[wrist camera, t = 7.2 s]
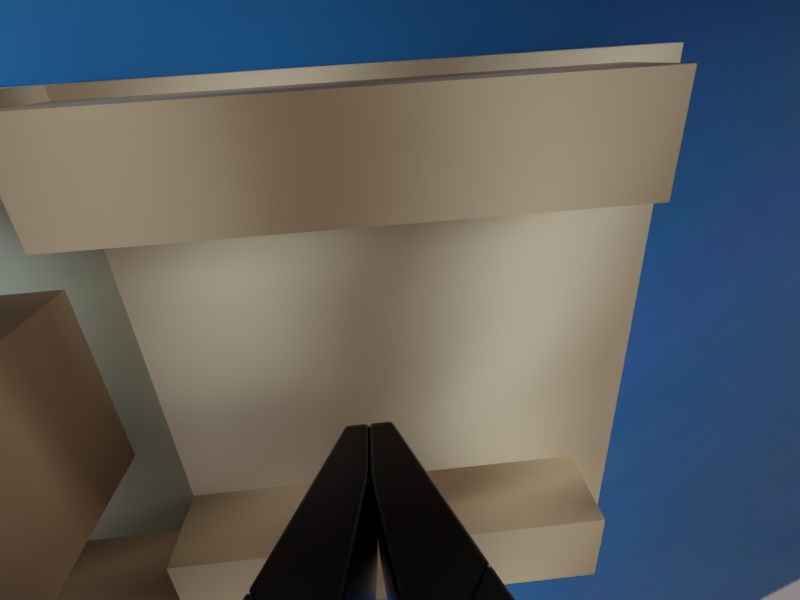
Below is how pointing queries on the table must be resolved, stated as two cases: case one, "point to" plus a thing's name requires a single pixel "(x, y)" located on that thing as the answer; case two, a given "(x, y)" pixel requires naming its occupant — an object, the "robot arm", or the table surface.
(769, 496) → the table surface
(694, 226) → the table surface
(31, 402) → the brown cube
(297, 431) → the slot board
